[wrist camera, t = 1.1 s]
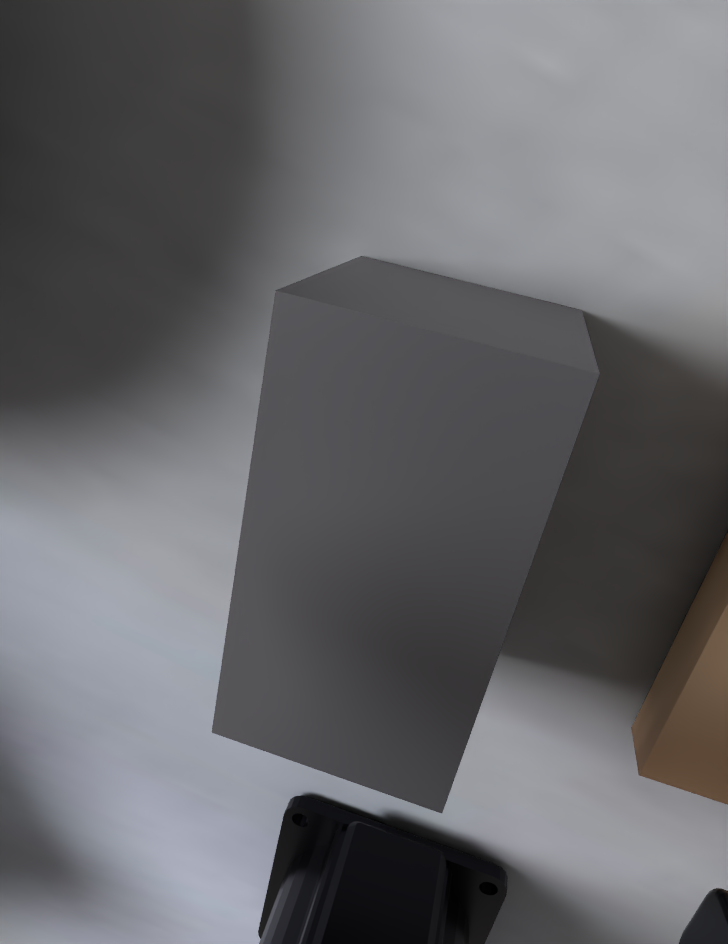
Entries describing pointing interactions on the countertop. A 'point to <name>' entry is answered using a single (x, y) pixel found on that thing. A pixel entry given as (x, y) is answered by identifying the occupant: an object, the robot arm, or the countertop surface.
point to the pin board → (691, 698)
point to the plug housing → (393, 516)
